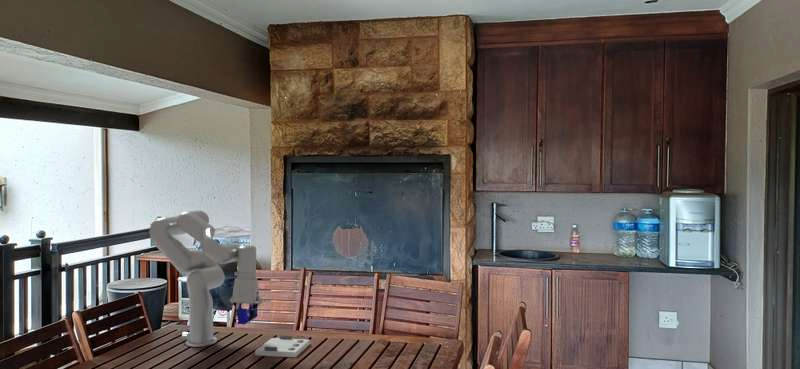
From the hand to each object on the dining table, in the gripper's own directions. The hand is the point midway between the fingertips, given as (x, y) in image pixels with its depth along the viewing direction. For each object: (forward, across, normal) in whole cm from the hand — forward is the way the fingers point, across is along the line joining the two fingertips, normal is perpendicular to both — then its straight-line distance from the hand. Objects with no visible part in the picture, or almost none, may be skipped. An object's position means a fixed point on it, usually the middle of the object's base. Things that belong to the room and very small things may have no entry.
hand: (245, 318), depth 225 cm
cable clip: (+1, 0, 0) cm, 1 cm away
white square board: (+12, +17, 0) cm, 21 cm away
